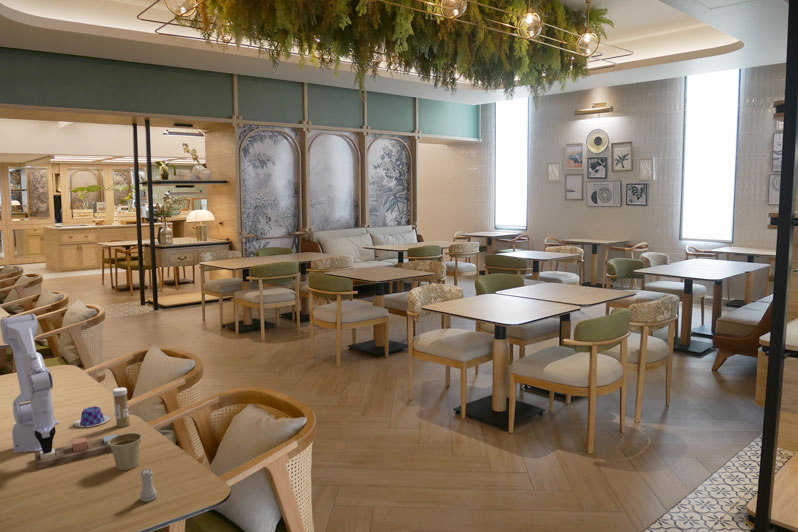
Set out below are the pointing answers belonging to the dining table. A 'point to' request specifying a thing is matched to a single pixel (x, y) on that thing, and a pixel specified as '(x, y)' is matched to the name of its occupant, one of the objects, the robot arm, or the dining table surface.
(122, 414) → the sprinkles bottle
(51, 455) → the white key
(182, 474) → the dining table surface
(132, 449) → the flower pot
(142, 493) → the rook chess piece
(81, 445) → the brick key
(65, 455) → the board
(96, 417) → the purple domed brimmed piece
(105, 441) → the blue key
